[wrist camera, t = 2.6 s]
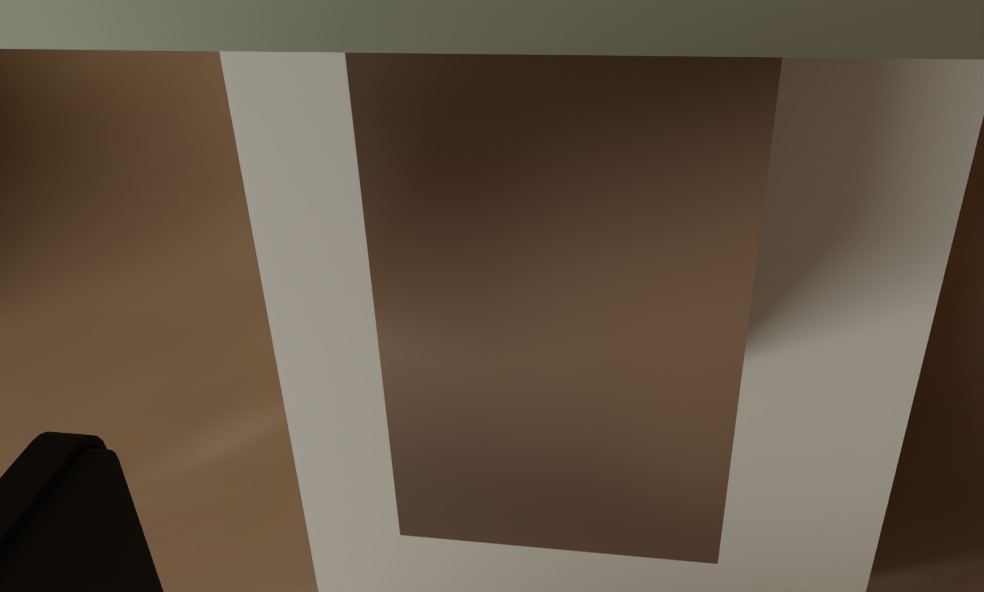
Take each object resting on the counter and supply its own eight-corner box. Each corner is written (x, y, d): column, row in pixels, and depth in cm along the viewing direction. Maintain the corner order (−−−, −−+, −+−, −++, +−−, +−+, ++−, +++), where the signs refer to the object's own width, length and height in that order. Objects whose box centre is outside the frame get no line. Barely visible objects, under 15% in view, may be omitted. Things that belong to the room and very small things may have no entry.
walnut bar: (704, 374, 18) (718, 564, 14) (457, 360, 19) (400, 534, 15) (811, -676, 11) (911, -955, 6) (394, -634, 11) (241, -858, 7)
